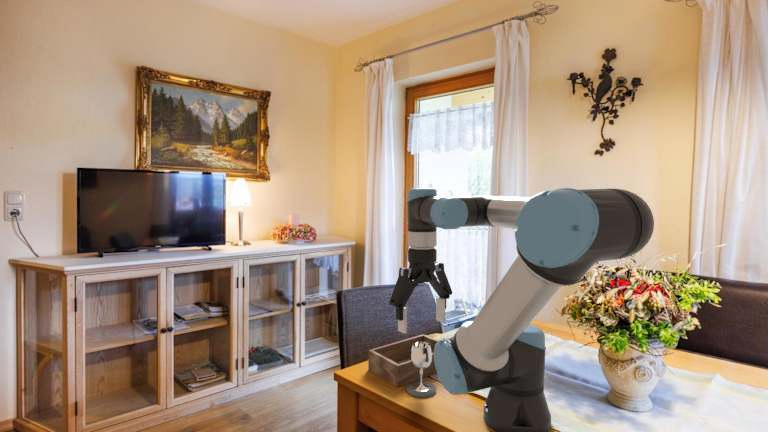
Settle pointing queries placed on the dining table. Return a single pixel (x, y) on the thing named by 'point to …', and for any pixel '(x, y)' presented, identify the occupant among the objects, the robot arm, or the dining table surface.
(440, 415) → the dining table surface
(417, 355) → the wineglass
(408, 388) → the coaster
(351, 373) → the dining table surface
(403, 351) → the rectangular wooden frame
